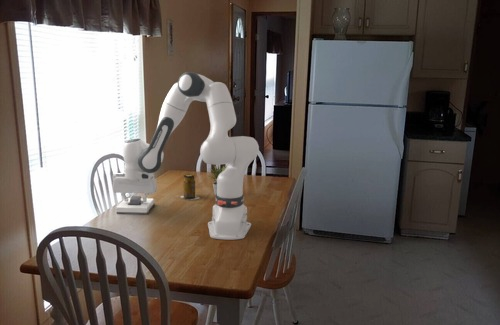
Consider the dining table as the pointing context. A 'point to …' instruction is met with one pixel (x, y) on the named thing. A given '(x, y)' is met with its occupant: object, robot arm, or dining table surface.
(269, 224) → the dining table surface
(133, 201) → the plug
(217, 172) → the house plant
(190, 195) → the condiment
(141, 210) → the socket
